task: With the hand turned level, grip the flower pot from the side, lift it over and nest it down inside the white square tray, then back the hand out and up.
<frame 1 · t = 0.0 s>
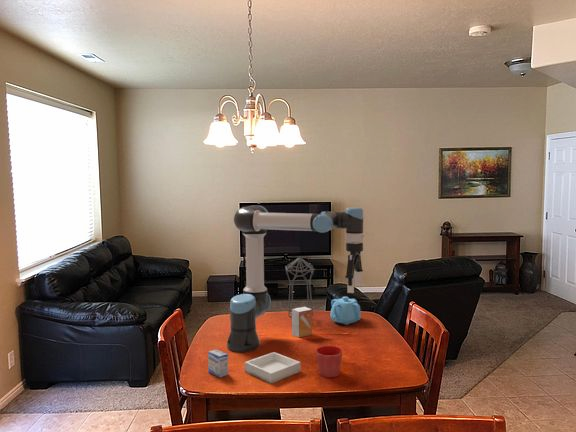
hand: (354, 289, 220), 28 cm above the table, tool pointing down, fingers open, 13 cm apart
small box: (301, 335, 244), on the table
geometric lantern: (300, 321, 265), on the table
white square tray: (272, 371, 199), on the table
flower pot: (329, 374, 196), on the table
medicine box: (218, 373, 198), on the table
decorative pot: (345, 322, 264), on the table
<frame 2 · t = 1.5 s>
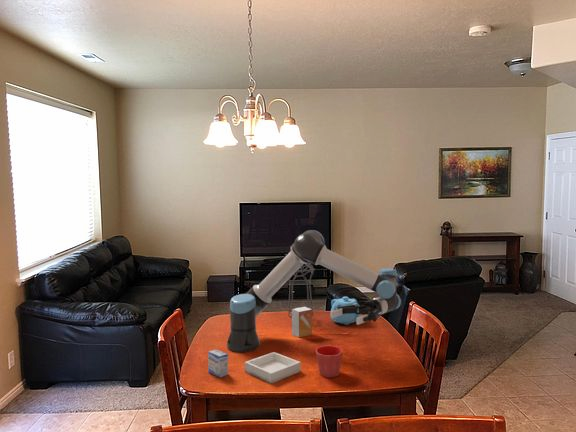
hand: (344, 317, 201), 21 cm above the table, tool horizontal, fingers open, 13 cm apart
nothing on the table moved.
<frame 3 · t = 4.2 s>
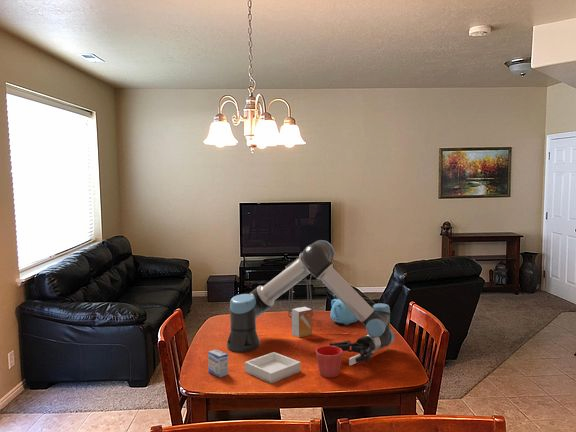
hand: (336, 357, 198), 6 cm above the table, tool horizontal, fingers open, 13 cm apart
nothing on the table moved.
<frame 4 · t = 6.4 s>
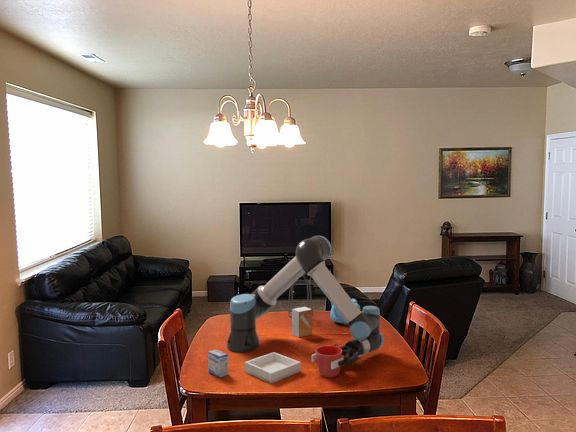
hand: (321, 362, 193), 6 cm above the table, tool horizontal, fingers closed on flower pot, 10 cm apart
flower pot: (328, 374, 196), on the table, touching gripper
everything else where it was.
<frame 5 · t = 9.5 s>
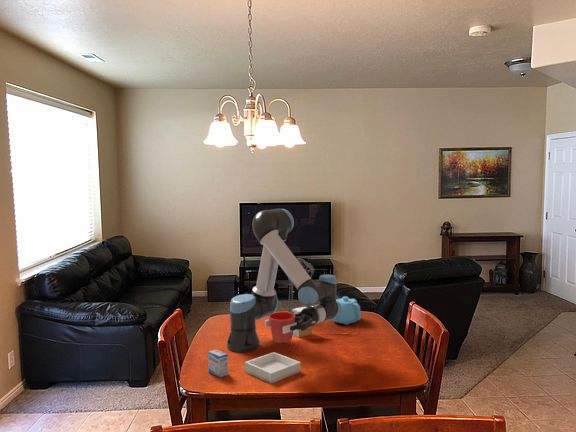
hand: (274, 327, 193), 20 cm above the table, tool horizontal, fingers closed on flower pot, 10 cm apart
flower pot: (282, 339, 196), point 14 cm above the table, touching gripper
everything else where it was.
when the fingers open (9 cm above the table, at t = 12.5 s): flower pot drops 1 cm, resting on white square tray.
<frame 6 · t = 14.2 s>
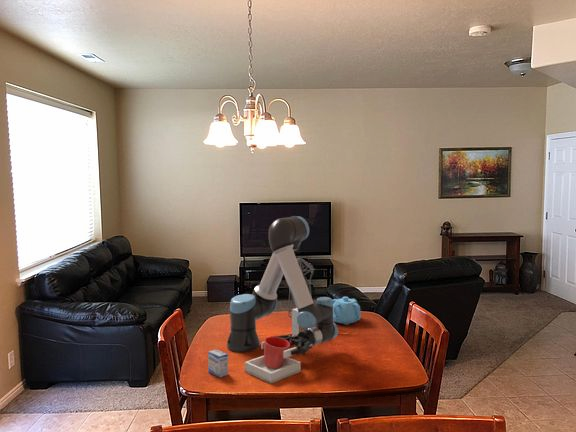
hand: (272, 350, 198), 9 cm above the table, tool horizontal, fingers open, 13 cm apart
flower pot: (272, 364, 202), point 2 cm above the table, touching white square tray, gripper
everything else where it was.
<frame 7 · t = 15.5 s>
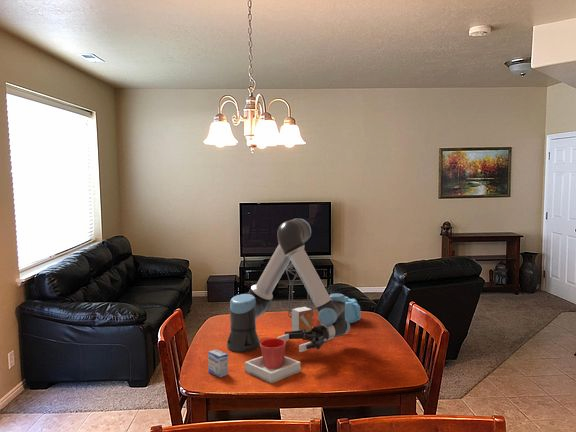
hand: (288, 344, 204), 9 cm above the table, tool horizontal, fingers open, 13 cm apart
flower pot: (273, 365, 202), point 1 cm above the table, touching white square tray
everything else where it was.
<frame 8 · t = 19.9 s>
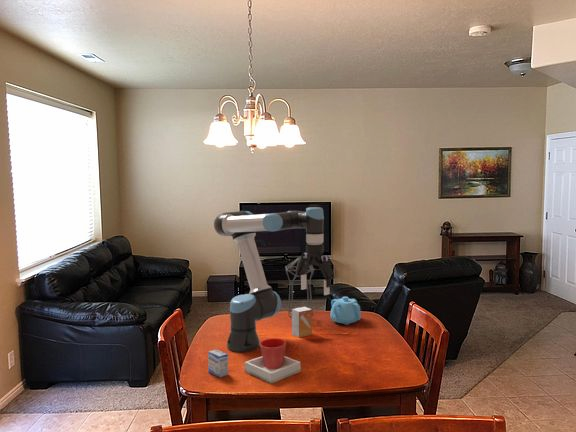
hand: (315, 291, 213), 29 cm above the table, tool pointing down, fingers open, 13 cm apart
nothing on the table moved.
at the end: flower pot 3.9 cm from the white square tray (horizontally); flower pot point 0.9 cm above the table; flower pot tilted 1° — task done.
